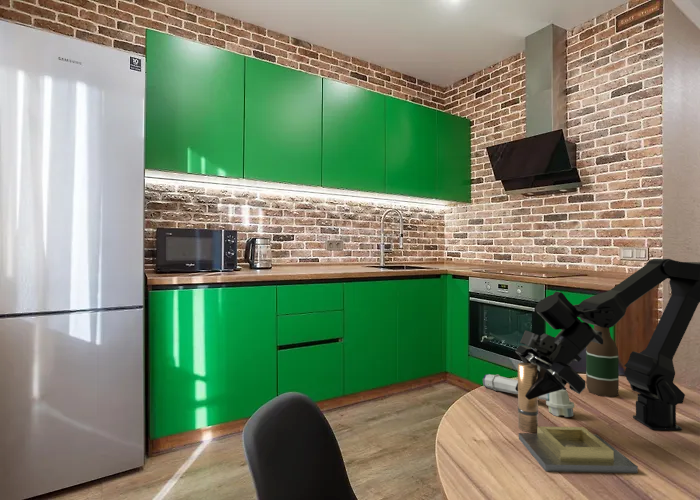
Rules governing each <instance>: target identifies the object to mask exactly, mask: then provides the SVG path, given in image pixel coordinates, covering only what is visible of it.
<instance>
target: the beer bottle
mask: <svg viewBox="0 0 700 500" xmlns="http://www.w3.org/2000/svg"><path fill="white" fill-rule="evenodd" d="M593 329H594V330H597V331H600V332H602V338H603V344H599V343H595V342H592V341H591V342H590V343H589V345H588V346H587V347H586V348H585V364H586V366H585V367H586V369H585V370H586V371H585V372H586V373H585V374H586V375H585V379H586V380H585V384H586V389H587V391H588V393H591V394H593V395H595V394H596V395H595V396H598V397H599V396H600V397H605V398H614V397H618V396H619V389H620V388H619V385H620V384H619V381H620V380H619V371H620V370H619V369H620V368H619V349H618V346H617V344H616V342H615V340H614V339H613V338H612V336H611V332H610V331H611V330H610V328H603V327H599V326H596V325H593Z"/></svg>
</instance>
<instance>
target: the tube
mask: <svg viewBox="0 0 700 500" xmlns="http://www.w3.org/2000/svg"><path fill="white" fill-rule="evenodd" d="M537 379H538V368H537V365H535V364H531V363H523V362H519V363H517V380H518V394H517V428H518V429H519V430H521V431H523V432H525V433H537V427H539V410H538V409H539V401H538V400H539V399H538V397H536V398H533V399H530V400H529V399H527V398H526V397H525V395H526V393H527V392H528V390H529V389H530V388H531V386H532V385H533V384H534V383H535V381H536V380H537Z"/></svg>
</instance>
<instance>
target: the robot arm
mask: <svg viewBox="0 0 700 500" xmlns="http://www.w3.org/2000/svg"><path fill="white" fill-rule="evenodd" d="M667 279H668V280H669V283H668V284H669V286H670V287H669V288H670V291H671V294H670V297H669V300H668V301H667V304H666V305H665V307H664V310H663V313H662V315H661V317H660V318H659V321H658V323H657V325H656V327H655V329H654V331H653V334H652V335H651V338H650V340H649V342H648V344H647V346H646V347H645V349H644V350H642V351H640V352H637V351H632V352H631V353H630V354H629V358H628V360H627V361H626V363H625V364H624V365H623V366H624V367H625V370H624V376H625V378H626V380H627V382H628V383H629V386H630V388H631V391H632V392H637V400H636V401H635V414H634V415H632V418H633V419H634V420H636V421H637V422H639V423H641V424H643V425H644V426H646V427H647V428H649V429H650V430H654V431H657V430H658V431H659V430H660V431H682V430H683V428H682V426H680V425H679V424H677V405H680V404H683V403H684V400H685V397H686V394H685V393H684V392H683V391H682V390H681V389H680V388H679V386H677V385H676V384H675V383H674V380H675V376H676V371H675V365H674V361H673V360H674V356H675V354H676V352H677V351H678V349H679V346H680V344H681V342H682V340H683V338H684V335H685V333H686V332H687V329H688V327H689V325H690V323H691V320H692V319H693V316H694V314H695V312H696V310H697V308H698V306H699V304H700V262H699V261H681V260H680V261H678V260H674V259H671V258H652V259H650V260H648V261H647V262H646V264H645V265H643V266H642V267H641V268H639V269H638V270H637V271H636V272H634V273H632V274H631V275H629V276H628V277H627V278H625V279H624V280H623V281H621V282H620V283H618V284H617V285H615V286H613V288H611V289H609V290H607V291H605V292H604V291H603V292H601V293H598V294H594V295H592V296H590V297H588V298H586V299H583V300H582V301H581V302H580V303H578V304H573V303H572V302H571V301H570V300H568V298H567V297H566V295H565V294H564V293H563V292H561V291H554V293H553V294H550V295H548V296H546V297H544V298H543V299H540V300H539V301H538V303H537V304H536V305H535V307H534V308H535V312H536V313H537V314H538V315H539V316H540V317H541V318H542V319H543V321H545V322H546V323H547V324H548V325H549V326H550V327H551V328H552V329H553V330H557V331H558V330H560V331H559V332H558V334H557V335H556V336H555V337H554V336H552V335H550V334H547V333H543V334H541V335H539V334H537V333H533V332H531V331H528V330H524V333H523V335H522V338H521V340H520V341H519V343H520V344H522V345H518V347H517V348H516V349H515V353H516V354H517V355H518V356H519V357H520V359H521V361H522V363H531V364H535V365H537V368H538V379H537V380H536V381H535V383H534V384H533V385H532V386H531V388H530V389H529V390H528V392H527V393H526V395H525V397H526V398H527V399H529V400H530V399H533V398H536V397H539V396H542V395H545V394H548V393H551V392H555V391H559V390H566V391H567V387H566V385H567V384H568V385H569V389H570V391H572V392H574V393H576V394H578V395H580V394H582V392H583V391H584V390H585V389H586V380H585V379H584V378H583V377H582V376H581V375H580V374H579V373H578V372H576V370H575V369H574V368H573V367H572V366H571V364H572V363H573V362H574V361H575V362H577V363H579V362H580V361H581V360H582V358H581V357H580V355H581V353H582V352H583V351H584V350H586V347H587V346H588V345H589V343H590V342H591V341H592V342H595V343H599V344H603V338H602V332H600V331H597V330H594V327H592V326H591V325H593V326H594V325H596V326H599V327H603V328H609V329H610V328H612V327H614V326H616V325H617V324H618V323H619V322H620V321H621V320H622V319H623V317H624V316H625V315H626V311H627V309H628V307H629V306H630V305H631V304H633V303H634V302H635V303H636V301H638V300H639V299H640V298H642V297H643V296H644V295H646V294H647V293H649V292H650V291H651V290H653V289H654V288H656V287H657V286H658V285H660V284H661V283H663V282H664V281H665V280H667ZM515 389H516V391H517V392H518V383H517V385H516V388H515Z"/></svg>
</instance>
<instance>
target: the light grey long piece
mask: <svg viewBox="0 0 700 500" xmlns="http://www.w3.org/2000/svg"><path fill="white" fill-rule="evenodd" d="M517 383H518V379H513V378H509V377H505V376H501V375H500V374H490V373H487V374H485V375H484V376H483V378H482V384H483V386H484V387H485V388H488V389H490V390H494V391H495V392H498V391H499V392H505V393H509V394H514V395H518V392H517V391H516V389H515V388H516V385H517ZM488 384H489V385H488ZM538 400H544V401H545V405H546V406H548V412H549V413H550V414H552V416H556V417H560V416H564V418H571V417H573V416H575V415H574V408H575V403H574V402H573V401H571V400H570V397H569V392H568V391H567V389H566V390H559V391H555V392H551V393H548V394H545V395H542V396H539V397H538Z"/></svg>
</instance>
